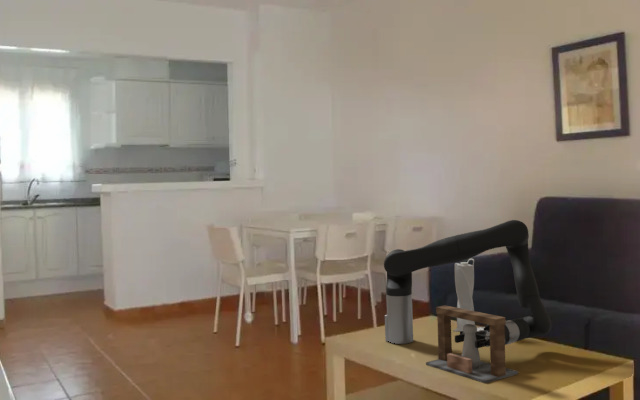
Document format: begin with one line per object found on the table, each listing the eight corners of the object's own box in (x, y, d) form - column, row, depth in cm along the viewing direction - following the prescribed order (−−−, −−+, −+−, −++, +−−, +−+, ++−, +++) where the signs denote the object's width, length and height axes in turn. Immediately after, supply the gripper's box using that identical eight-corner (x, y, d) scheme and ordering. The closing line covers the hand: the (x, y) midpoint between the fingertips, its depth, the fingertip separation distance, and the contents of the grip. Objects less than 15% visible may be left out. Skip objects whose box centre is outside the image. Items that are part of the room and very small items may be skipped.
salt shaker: (480, 369, 205) (479, 327, 204) (461, 369, 206) (460, 326, 205) (480, 364, 210) (479, 322, 210) (461, 363, 212) (460, 322, 211)
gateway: (426, 364, 215) (424, 309, 214) (457, 356, 222) (456, 303, 222) (485, 383, 194) (484, 322, 193) (518, 373, 202) (516, 314, 201)
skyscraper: (480, 329, 260) (478, 257, 258) (473, 334, 253) (471, 260, 251) (459, 327, 264) (456, 256, 263) (452, 332, 257) (449, 259, 256)
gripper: (484, 318, 221) (448, 326, 212) (519, 325, 210) (482, 334, 201) (484, 340, 222) (449, 349, 213) (519, 349, 210) (483, 358, 201)
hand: (465, 342), depth 207 cm, fingers open, 8 cm apart
